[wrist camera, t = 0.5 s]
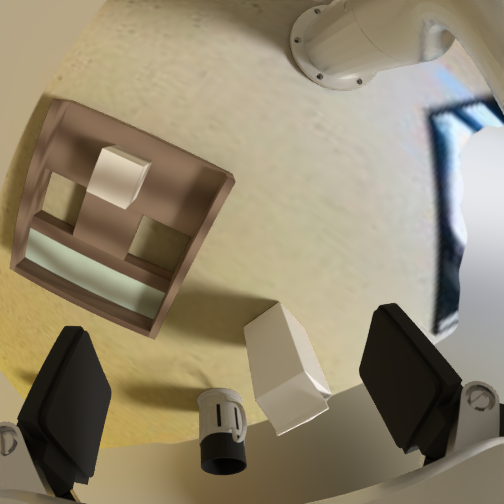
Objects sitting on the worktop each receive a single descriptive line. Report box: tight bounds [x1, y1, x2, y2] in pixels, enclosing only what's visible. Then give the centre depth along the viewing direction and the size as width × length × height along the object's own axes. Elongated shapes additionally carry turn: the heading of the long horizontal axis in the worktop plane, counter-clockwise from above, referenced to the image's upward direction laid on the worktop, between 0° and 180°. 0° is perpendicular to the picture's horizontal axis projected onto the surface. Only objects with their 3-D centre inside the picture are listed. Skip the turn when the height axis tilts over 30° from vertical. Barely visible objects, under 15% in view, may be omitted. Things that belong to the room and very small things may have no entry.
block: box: [86, 145, 153, 209], centre depth 31 cm, size 5×5×5 cm
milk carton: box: [244, 302, 332, 436], centre depth 39 cm, size 7×7×19 cm
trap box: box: [10, 99, 235, 340], centre depth 35 cm, size 24×24×6 cm
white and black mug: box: [197, 388, 247, 475], centre depth 47 cm, size 9×14×15 cm, turn 156°
